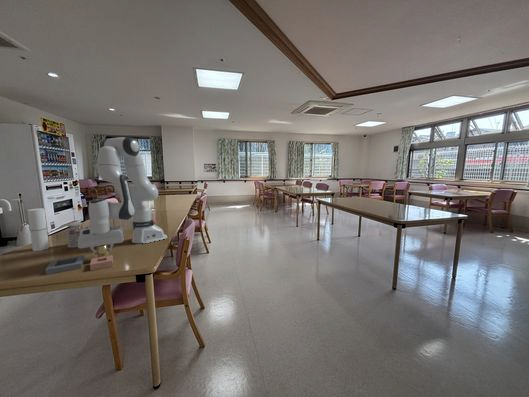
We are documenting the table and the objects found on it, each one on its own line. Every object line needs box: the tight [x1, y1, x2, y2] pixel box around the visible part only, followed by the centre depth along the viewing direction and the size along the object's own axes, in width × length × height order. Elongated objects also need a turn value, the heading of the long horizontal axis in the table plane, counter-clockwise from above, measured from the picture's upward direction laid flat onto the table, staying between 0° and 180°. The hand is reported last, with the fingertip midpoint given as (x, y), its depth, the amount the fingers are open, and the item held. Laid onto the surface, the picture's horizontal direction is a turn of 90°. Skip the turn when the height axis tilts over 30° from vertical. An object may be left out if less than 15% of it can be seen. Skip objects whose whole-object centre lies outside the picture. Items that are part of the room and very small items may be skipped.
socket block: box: [44, 254, 85, 275], centre depth 112 cm, size 13×13×2 cm
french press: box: [63, 207, 84, 248], centre depth 142 cm, size 10×12×25 cm
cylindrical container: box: [27, 207, 50, 252], centre depth 135 cm, size 7×7×25 cm
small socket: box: [89, 254, 114, 271], centre depth 113 cm, size 9×9×3 cm
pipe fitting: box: [96, 244, 110, 258], centre depth 121 cm, size 6×6×8 cm
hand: (102, 252), depth 121 cm, fingers closed on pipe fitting, 5 cm apart
